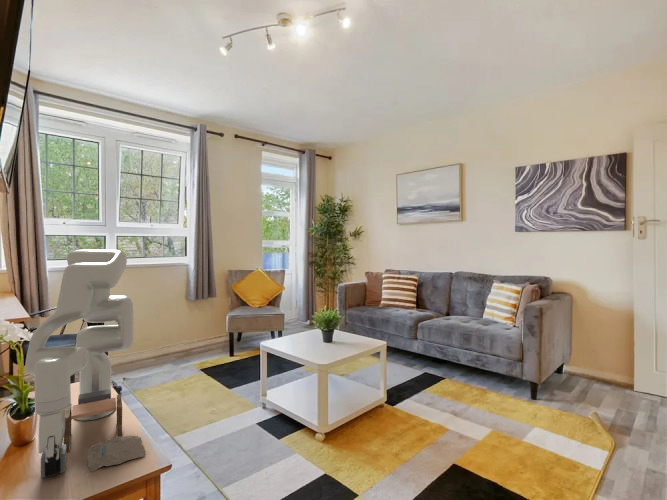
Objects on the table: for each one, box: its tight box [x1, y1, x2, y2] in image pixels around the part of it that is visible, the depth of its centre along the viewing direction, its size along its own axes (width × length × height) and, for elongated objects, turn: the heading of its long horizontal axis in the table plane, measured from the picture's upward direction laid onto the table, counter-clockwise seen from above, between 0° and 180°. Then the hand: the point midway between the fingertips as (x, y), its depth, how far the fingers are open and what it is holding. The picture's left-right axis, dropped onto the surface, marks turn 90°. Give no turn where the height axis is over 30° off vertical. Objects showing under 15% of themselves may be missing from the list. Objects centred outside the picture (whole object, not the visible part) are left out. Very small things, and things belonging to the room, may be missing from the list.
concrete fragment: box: [86, 435, 146, 473], centre depth 102 cm, size 7×14×6 cm, turn 120°
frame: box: [63, 394, 124, 454], centre depth 113 cm, size 10×15×10 cm
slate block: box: [40, 443, 67, 479], centre depth 96 cm, size 5×5×5 cm
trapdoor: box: [71, 388, 117, 421], centre depth 116 cm, size 14×12×3 cm
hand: (54, 467), depth 96 cm, fingers closed on slate block, 5 cm apart
